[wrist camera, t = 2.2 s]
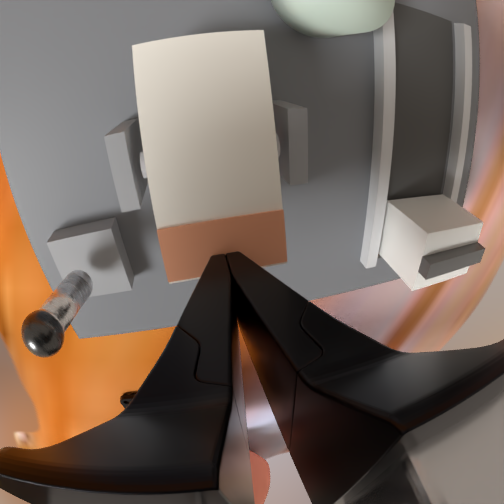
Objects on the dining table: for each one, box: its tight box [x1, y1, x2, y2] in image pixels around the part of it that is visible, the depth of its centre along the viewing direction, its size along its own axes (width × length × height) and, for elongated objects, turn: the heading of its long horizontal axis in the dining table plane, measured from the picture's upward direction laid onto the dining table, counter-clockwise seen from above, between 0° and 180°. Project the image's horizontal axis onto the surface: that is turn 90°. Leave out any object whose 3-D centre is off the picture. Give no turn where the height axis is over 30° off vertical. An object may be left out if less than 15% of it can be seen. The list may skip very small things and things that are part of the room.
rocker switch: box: [132, 30, 287, 284], centre depth 8 cm, size 7×4×1 cm, turn 4°
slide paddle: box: [379, 194, 485, 291], centre depth 13 cm, size 3×4×4 cm
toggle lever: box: [22, 270, 93, 357], centre depth 9 cm, size 2×2×4 cm
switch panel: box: [0, 0, 480, 339], centre depth 11 cm, size 18×23×5 cm
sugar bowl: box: [249, 451, 270, 504], centre depth 27 cm, size 12×14×10 cm
